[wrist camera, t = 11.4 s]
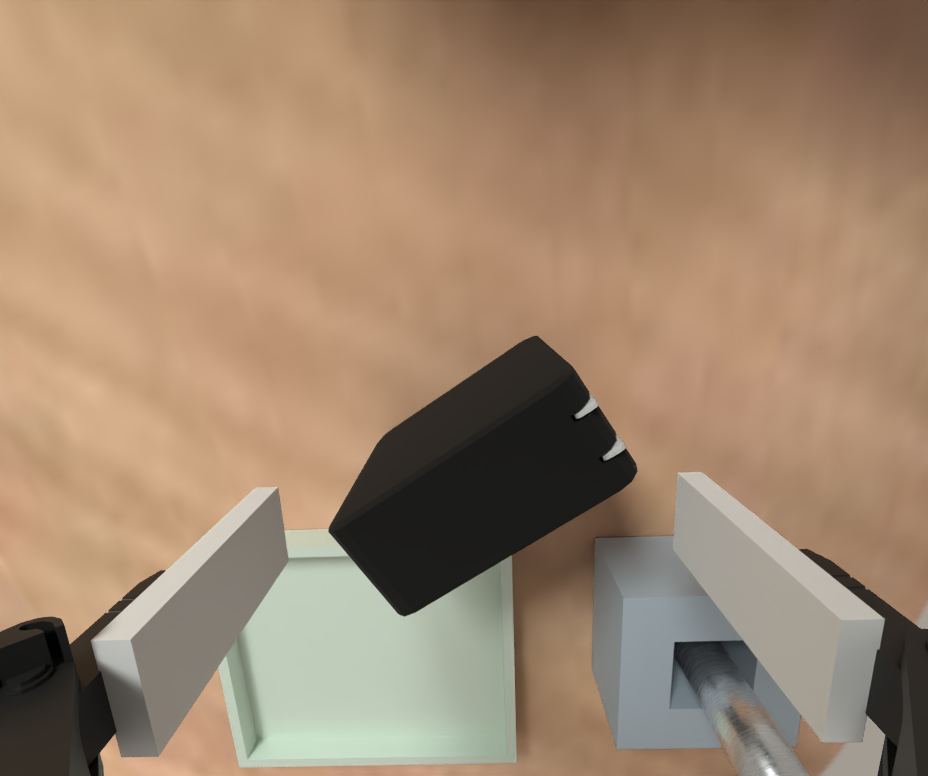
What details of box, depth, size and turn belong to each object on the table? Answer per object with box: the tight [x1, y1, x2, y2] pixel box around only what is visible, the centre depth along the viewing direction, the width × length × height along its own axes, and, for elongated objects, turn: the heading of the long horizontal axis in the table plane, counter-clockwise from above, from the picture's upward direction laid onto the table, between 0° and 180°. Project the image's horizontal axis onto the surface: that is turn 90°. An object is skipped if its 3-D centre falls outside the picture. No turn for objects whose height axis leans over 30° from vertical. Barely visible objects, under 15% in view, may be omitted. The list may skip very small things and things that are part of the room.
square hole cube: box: [592, 536, 801, 750], centre depth 24 cm, size 9×9×5 cm
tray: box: [218, 529, 517, 767], centre depth 27 cm, size 15×17×2 cm
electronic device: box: [328, 336, 637, 617], centre depth 19 cm, size 4×10×10 cm, turn 125°
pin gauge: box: [674, 641, 810, 776], centre depth 20 cm, size 2×2×12 cm
